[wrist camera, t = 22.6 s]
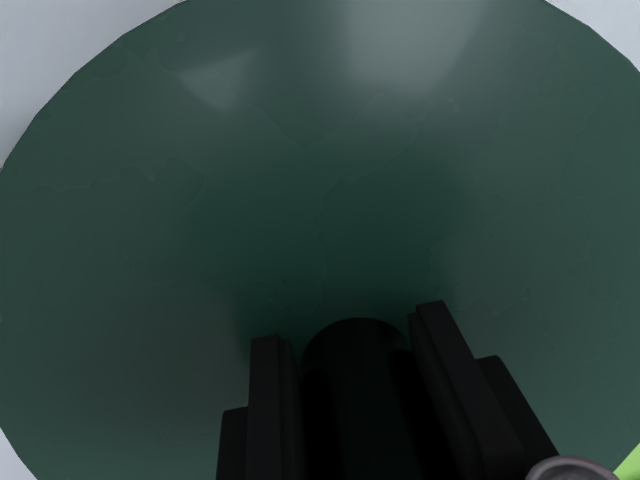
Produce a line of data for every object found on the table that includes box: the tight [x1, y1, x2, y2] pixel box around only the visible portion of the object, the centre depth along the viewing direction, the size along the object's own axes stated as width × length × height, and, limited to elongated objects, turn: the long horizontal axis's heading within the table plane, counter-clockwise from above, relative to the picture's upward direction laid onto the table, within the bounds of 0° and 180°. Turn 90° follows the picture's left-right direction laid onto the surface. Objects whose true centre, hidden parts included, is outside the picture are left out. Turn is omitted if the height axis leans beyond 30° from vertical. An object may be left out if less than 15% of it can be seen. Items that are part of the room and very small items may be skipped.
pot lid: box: [0, 0, 640, 480], centre depth 10 cm, size 15×15×7 cm
